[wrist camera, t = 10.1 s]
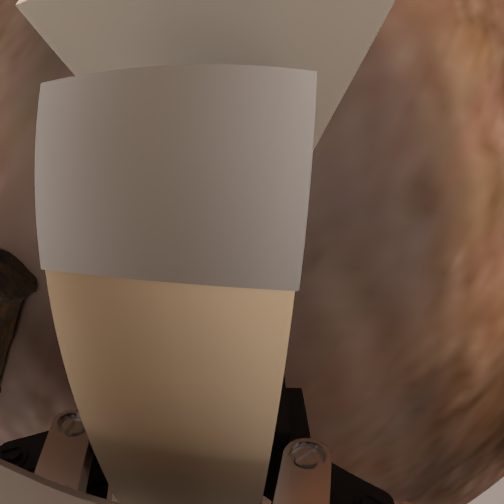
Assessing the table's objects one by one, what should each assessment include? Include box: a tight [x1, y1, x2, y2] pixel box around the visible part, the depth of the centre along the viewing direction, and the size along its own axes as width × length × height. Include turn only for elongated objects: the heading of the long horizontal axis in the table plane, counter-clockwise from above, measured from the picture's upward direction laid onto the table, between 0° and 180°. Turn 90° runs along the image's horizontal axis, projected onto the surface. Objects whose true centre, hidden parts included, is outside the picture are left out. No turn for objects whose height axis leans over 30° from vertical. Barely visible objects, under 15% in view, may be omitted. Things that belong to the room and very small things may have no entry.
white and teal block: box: [16, 0, 395, 150], centre depth 8 cm, size 7×3×10 cm, turn 86°
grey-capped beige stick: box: [35, 64, 317, 504], centre depth 9 cm, size 4×18×6 cm, turn 176°
